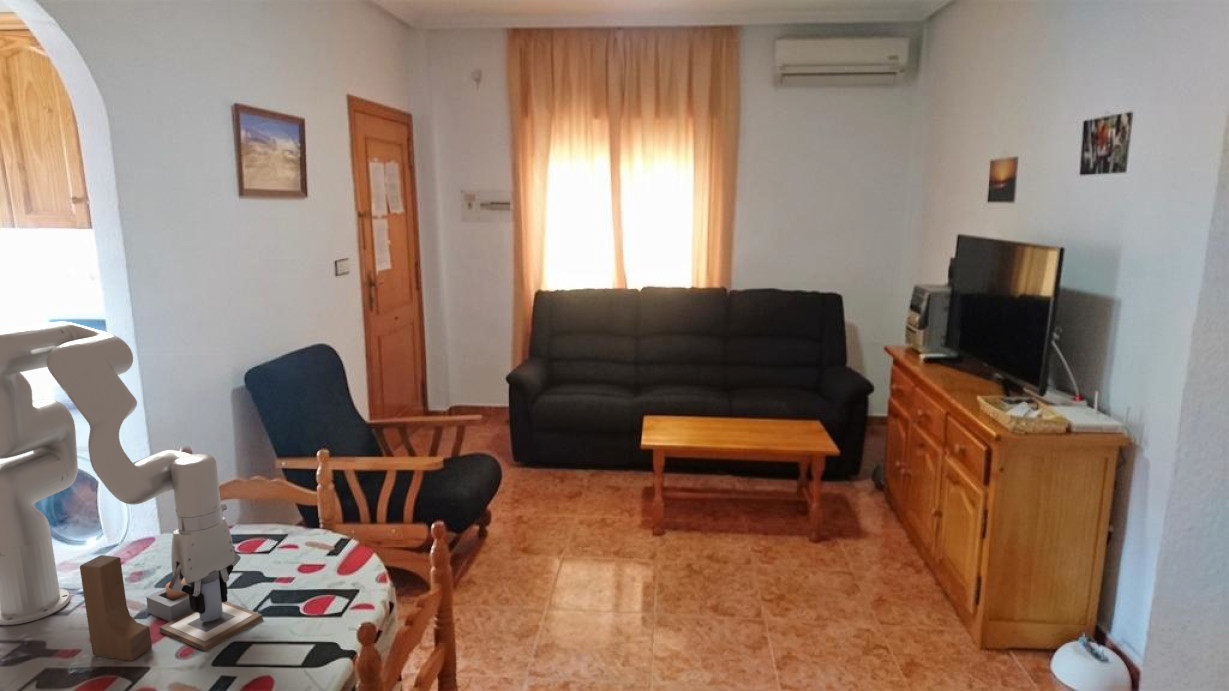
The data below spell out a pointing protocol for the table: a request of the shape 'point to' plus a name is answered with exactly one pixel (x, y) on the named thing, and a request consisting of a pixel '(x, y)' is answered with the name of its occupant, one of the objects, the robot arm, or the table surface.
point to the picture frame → (211, 626)
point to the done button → (174, 592)
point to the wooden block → (111, 611)
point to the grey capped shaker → (211, 597)
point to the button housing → (168, 606)
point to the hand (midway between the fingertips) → (209, 605)
